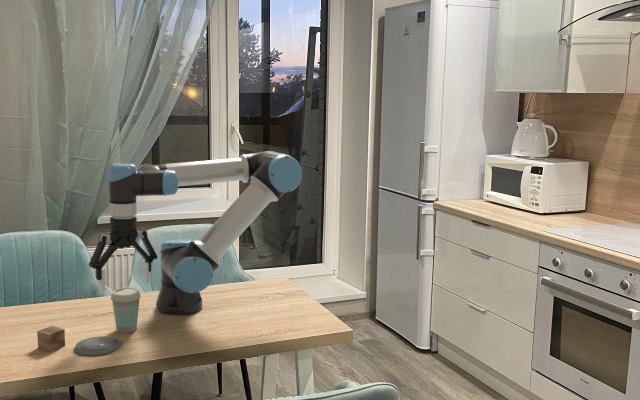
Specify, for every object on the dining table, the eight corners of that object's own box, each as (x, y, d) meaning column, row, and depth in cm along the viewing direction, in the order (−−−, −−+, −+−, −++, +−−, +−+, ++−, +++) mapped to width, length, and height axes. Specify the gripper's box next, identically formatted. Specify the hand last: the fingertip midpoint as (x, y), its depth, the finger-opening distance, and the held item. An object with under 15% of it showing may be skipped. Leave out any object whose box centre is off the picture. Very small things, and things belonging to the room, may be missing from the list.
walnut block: (53, 342, 181) (52, 325, 180) (65, 346, 179) (64, 329, 178) (38, 348, 177) (37, 331, 176) (50, 352, 174) (49, 334, 174)
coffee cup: (130, 322, 198) (129, 285, 196) (147, 329, 193) (146, 291, 191) (106, 329, 191) (104, 291, 189) (122, 336, 186) (121, 297, 184)
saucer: (110, 335, 187) (109, 332, 186) (127, 348, 178) (127, 345, 177) (68, 345, 179) (68, 341, 179) (84, 359, 170) (84, 355, 170)
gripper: (156, 210, 197) (157, 276, 200) (75, 218, 181) (78, 290, 184) (168, 214, 191) (168, 282, 195) (85, 223, 175) (87, 296, 179)
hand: (124, 286), depth 190 cm, fingers open, 13 cm apart
